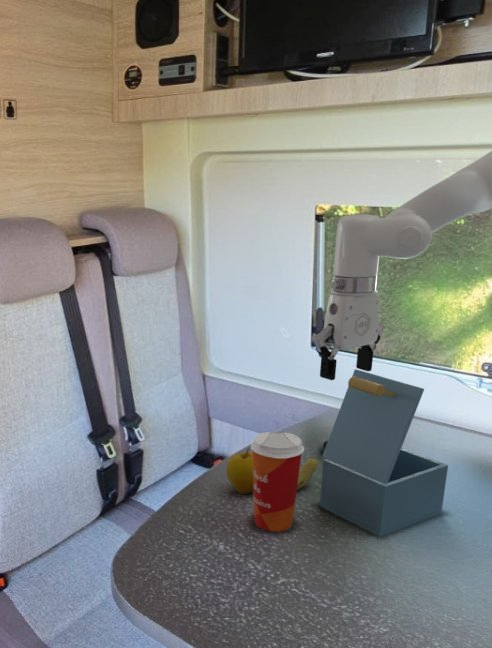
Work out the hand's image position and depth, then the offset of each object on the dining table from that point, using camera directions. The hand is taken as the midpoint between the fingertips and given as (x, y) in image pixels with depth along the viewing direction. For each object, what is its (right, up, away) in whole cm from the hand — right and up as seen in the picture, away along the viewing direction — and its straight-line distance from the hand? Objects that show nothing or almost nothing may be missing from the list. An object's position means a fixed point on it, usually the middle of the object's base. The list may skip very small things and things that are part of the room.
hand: (345, 373), depth 138 cm
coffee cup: (-19, -26, -18) cm, 37 cm away
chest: (0, -24, -16) cm, 29 cm away
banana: (-10, -21, -6) cm, 24 cm away
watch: (+2, -15, +8) cm, 17 cm away
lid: (-5, -10, -23) cm, 26 cm away
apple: (-21, -22, -7) cm, 31 cm away
